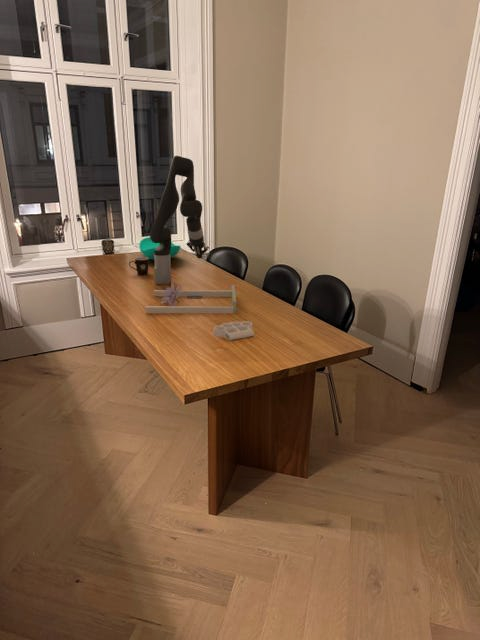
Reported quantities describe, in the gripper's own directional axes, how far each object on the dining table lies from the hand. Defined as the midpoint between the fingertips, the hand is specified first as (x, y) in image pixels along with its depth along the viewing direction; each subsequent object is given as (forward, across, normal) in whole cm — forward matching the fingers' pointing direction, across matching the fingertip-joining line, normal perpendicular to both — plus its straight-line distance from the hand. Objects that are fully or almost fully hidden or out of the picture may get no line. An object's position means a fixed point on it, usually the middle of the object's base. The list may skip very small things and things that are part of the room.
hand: (199, 257), depth 234 cm
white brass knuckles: (-14, -44, +45) cm, 64 cm away
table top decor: (+58, +57, -31) cm, 87 cm away
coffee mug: (+36, +48, 0) cm, 60 cm away
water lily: (+5, +1, +31) cm, 32 cm away
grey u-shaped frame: (+6, -9, +26) cm, 28 cm away
